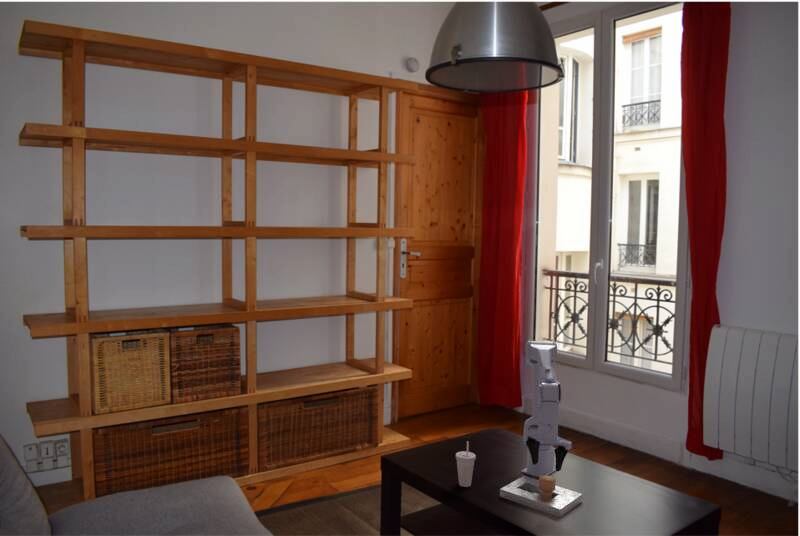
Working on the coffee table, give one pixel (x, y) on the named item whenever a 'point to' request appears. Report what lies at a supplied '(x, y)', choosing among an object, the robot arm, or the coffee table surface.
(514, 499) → the keyhole plate
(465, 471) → the smoothie
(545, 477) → the peg
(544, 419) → the robot arm
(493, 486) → the coffee table surface
